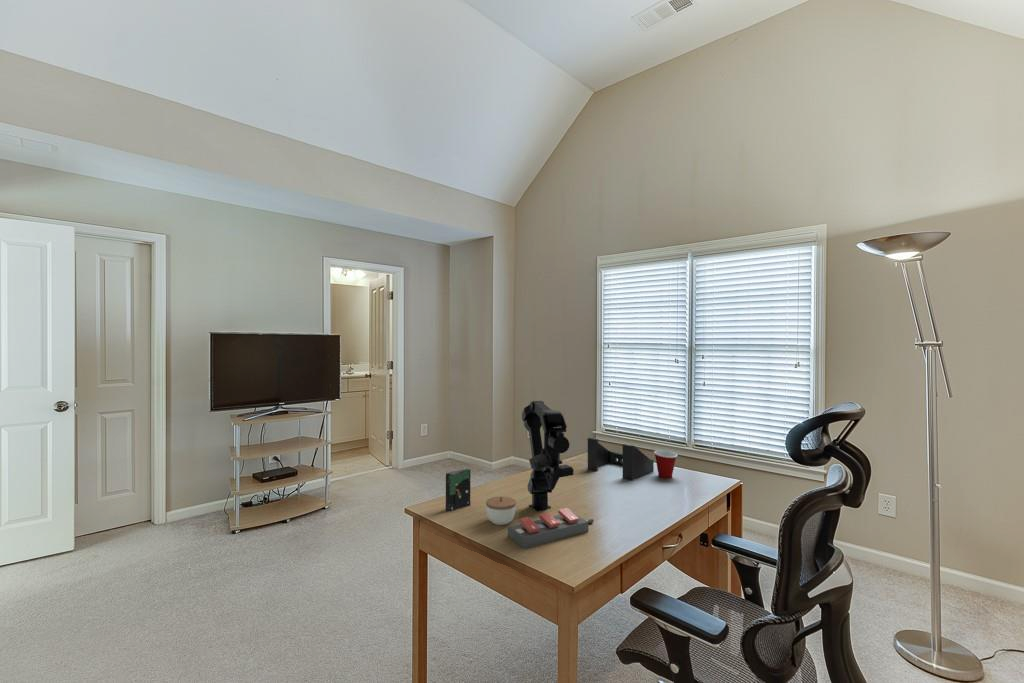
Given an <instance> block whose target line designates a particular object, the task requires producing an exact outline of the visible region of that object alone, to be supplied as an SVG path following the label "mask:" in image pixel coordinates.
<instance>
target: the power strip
mask: <svg viewBox="0 0 1024 683" xmlns="http://www.w3.org/2000/svg"><path fill="white" fill-rule="evenodd" d="M575 515H576V516H577V517H578V518H579V521H578V522H574V523H569V522H568V521H567V520H566V519H564V518H563V517H562V516H561V515H560V514H558V515H552V516H553V517H554V518H555V519H556V520H557V521H559V522H560V525H559V526H557V527H553V528H550V527H549V526H548V525H547V524H545V523H544V522H543V521H542V520H541V519H540V518H539V519H536V520H532V521H533V522H534V523H535V524H536V525H537V526H538V527H539V528H540V530H539V531H538V532H534V533H529V532H528V531H527V530H526V529H525V528H524V527H523V526H522V525H521V524H520V523H519V524H515V525H511V526H508V527H507V537H508V538H509V539H510V540H512V541H513V542H514V543H515V544H516V545H518V546H519V547H521V548H522V549H524V550H525V549H528V548H531V547H535V546H540V545H543V544H546V543H550V542H555V541H558V540H561V539H566V538H568V537H573V536H577V535H581V534H583V533H588V532H589V524H592V523H594V519H593V518H590V519H584V518H583V517H581V516H579V515H577V514H575Z"/></svg>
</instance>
